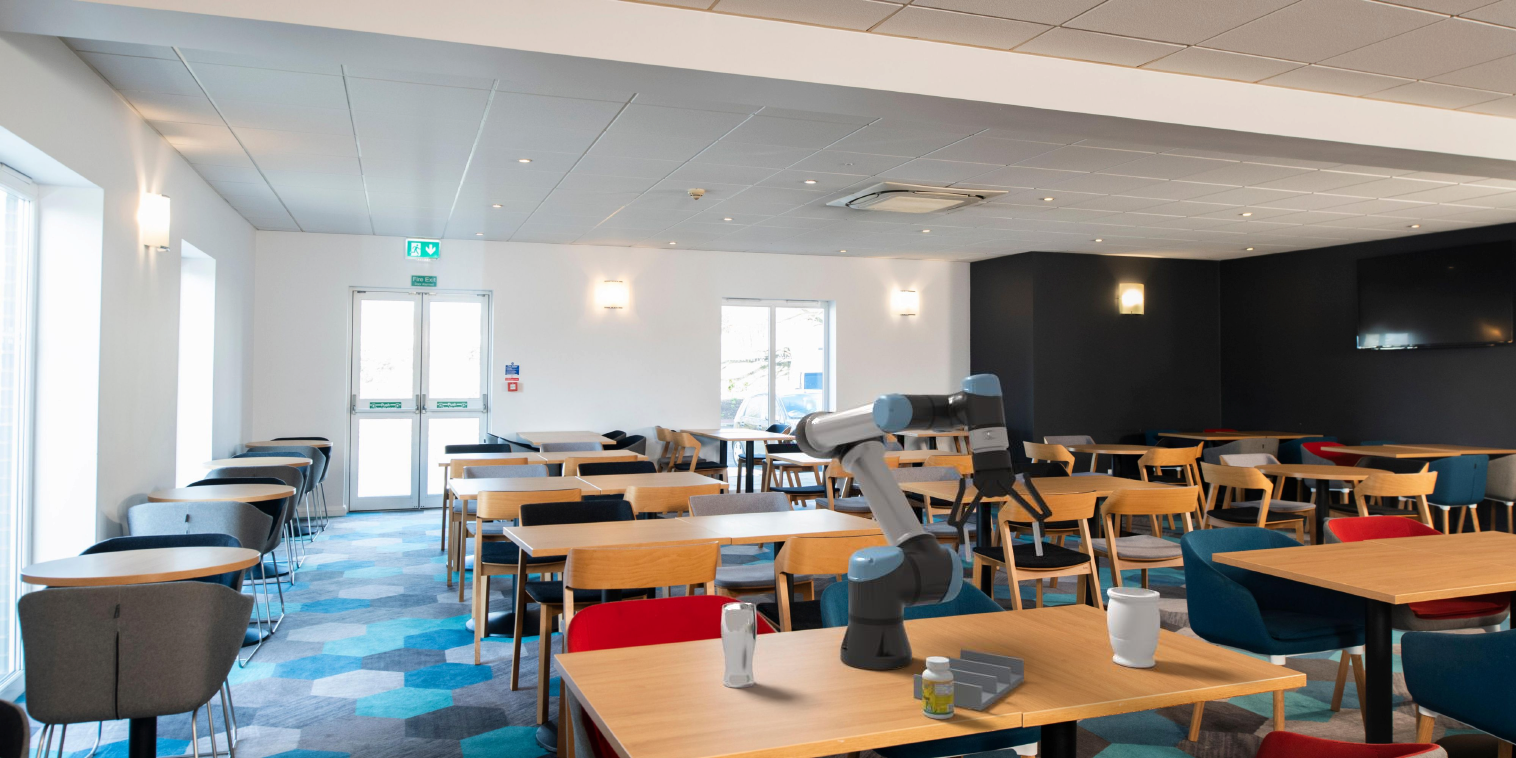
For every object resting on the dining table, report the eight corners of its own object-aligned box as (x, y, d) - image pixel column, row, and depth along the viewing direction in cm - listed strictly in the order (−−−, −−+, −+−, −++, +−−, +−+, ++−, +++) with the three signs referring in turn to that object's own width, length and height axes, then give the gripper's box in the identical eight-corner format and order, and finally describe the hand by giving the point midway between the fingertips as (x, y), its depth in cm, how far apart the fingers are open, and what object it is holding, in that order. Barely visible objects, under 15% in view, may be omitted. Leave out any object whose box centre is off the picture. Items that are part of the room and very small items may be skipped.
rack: (913, 697, 169) (913, 674, 169) (961, 669, 187) (961, 648, 187) (980, 711, 161) (980, 687, 162) (1023, 680, 180) (1023, 659, 180)
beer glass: (725, 690, 173) (725, 610, 174) (717, 679, 180) (717, 602, 180) (760, 687, 175) (761, 608, 176) (751, 676, 182) (751, 601, 182)
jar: (1166, 671, 186) (1165, 597, 186) (1112, 668, 188) (1111, 595, 189) (1154, 657, 196) (1153, 587, 197) (1103, 654, 198) (1102, 585, 199)
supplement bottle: (957, 719, 157) (957, 663, 158) (926, 720, 157) (926, 663, 157) (948, 709, 163) (948, 654, 163) (919, 709, 162) (919, 655, 163)
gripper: (928, 455, 181) (941, 564, 177) (1057, 442, 178) (1073, 553, 174) (926, 458, 188) (939, 563, 184) (1050, 446, 185) (1066, 552, 181)
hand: (1004, 558), depth 179 cm, fingers open, 13 cm apart
